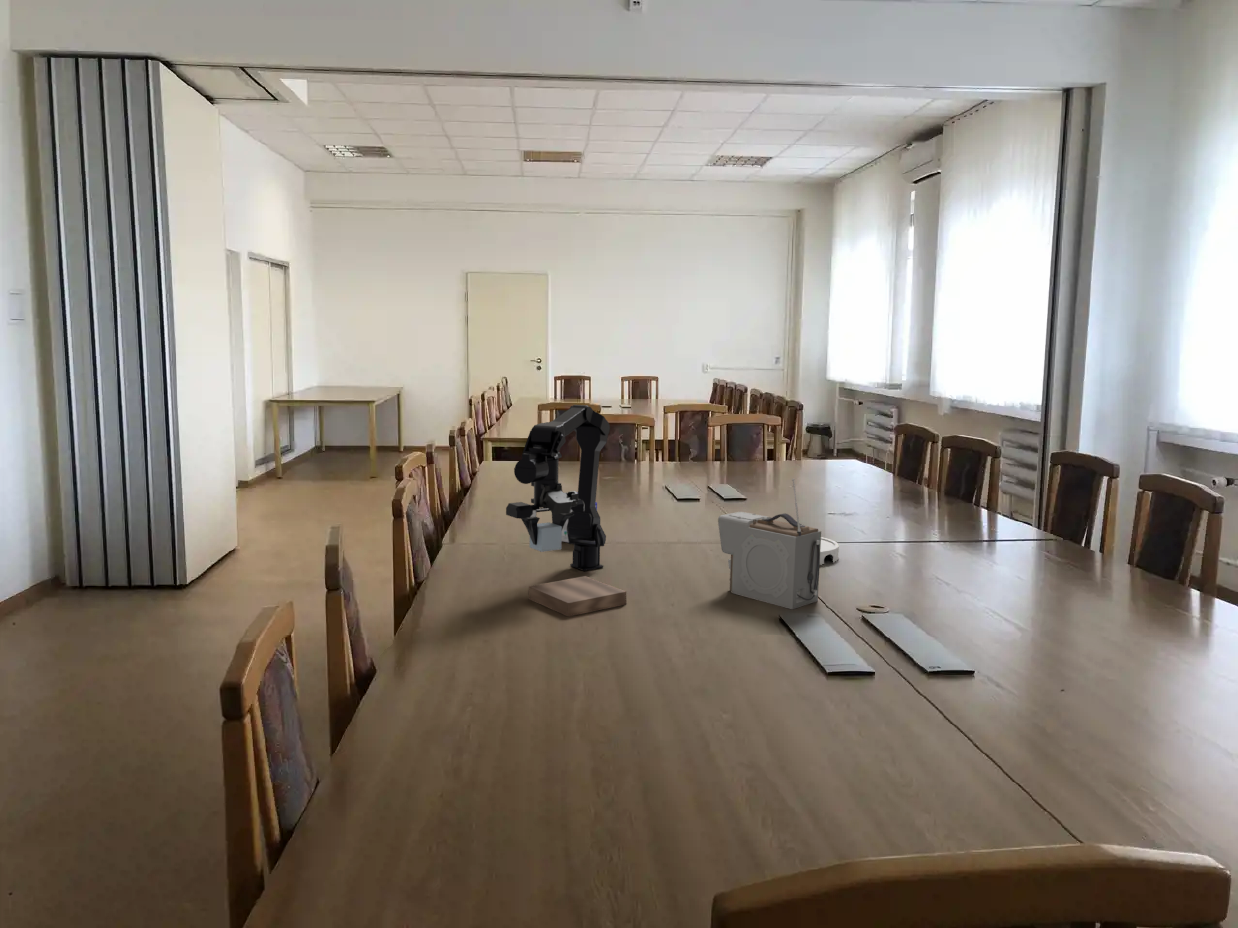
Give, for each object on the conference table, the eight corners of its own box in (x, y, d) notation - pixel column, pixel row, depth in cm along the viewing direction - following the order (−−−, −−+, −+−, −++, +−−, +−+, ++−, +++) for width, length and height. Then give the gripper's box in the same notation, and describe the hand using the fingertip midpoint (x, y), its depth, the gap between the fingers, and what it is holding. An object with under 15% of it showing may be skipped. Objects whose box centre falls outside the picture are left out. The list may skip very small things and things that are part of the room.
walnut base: (585, 588, 219) (585, 575, 218) (626, 604, 206) (626, 591, 206) (528, 598, 209) (528, 586, 208) (568, 616, 196) (568, 603, 196)
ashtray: (832, 548, 266) (833, 535, 266) (843, 568, 244) (844, 553, 243) (752, 545, 268) (753, 532, 268) (756, 564, 246) (757, 550, 245)
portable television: (741, 580, 228) (746, 462, 224) (822, 601, 211) (829, 474, 207) (710, 589, 220) (715, 467, 215) (792, 611, 203) (799, 479, 199)
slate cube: (549, 544, 220) (549, 522, 219) (561, 549, 216) (561, 526, 215) (529, 547, 217) (529, 524, 216) (541, 551, 212) (541, 528, 212)
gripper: (529, 486, 202) (529, 554, 204) (598, 480, 213) (597, 545, 215) (505, 479, 211) (504, 545, 213) (572, 473, 222) (571, 536, 224)
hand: (545, 543), depth 216 cm, fingers closed on slate cube, 5 cm apart
